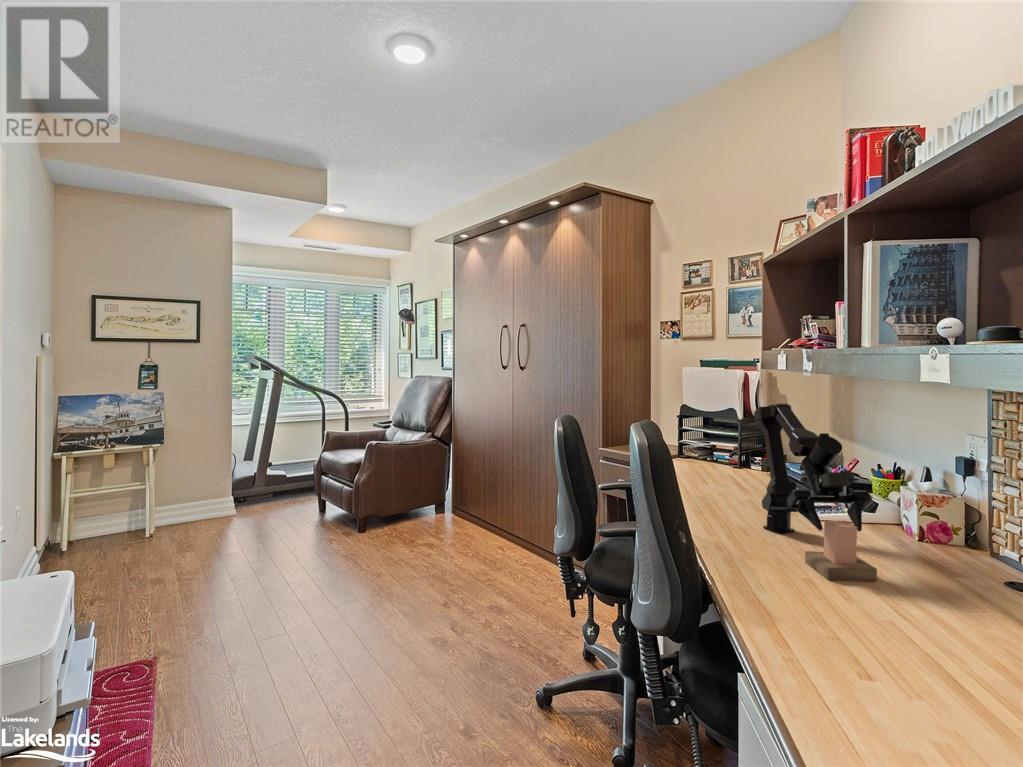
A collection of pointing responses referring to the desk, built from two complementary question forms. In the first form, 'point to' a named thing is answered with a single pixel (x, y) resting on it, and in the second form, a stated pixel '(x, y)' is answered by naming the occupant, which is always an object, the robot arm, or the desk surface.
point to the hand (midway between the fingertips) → (840, 530)
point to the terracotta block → (840, 541)
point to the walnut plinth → (840, 568)
